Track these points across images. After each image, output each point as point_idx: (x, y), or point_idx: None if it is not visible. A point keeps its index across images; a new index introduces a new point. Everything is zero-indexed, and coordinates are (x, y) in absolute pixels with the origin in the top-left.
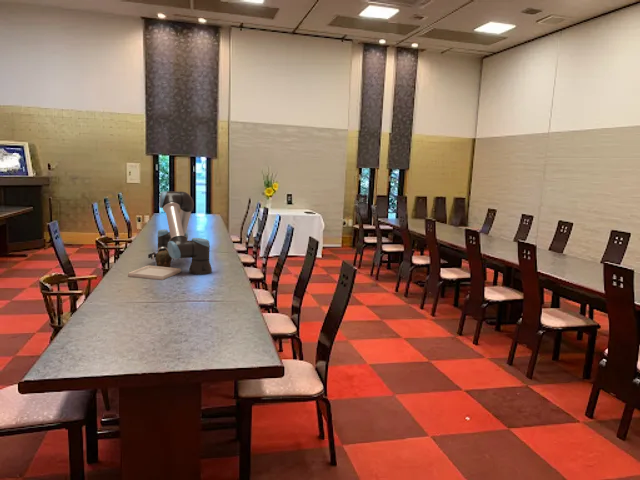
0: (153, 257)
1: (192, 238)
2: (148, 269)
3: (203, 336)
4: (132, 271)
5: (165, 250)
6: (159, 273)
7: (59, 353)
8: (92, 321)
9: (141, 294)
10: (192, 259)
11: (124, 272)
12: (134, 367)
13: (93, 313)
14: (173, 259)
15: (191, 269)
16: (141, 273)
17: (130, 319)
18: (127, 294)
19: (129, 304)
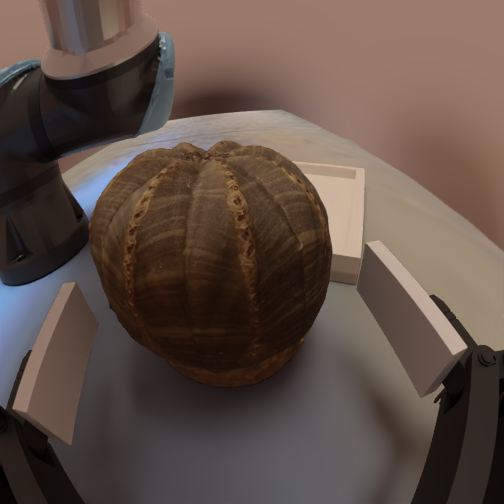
0: (365, 255)
1: (37, 59)
2: None
3: (181, 123)
4: (360, 176)
5: (159, 173)
6: None
7: (280, 112)
8: (285, 119)
9: (255, 137)
10: (58, 169)
11: (425, 218)
12: (229, 113)
13: (295, 122)
14: (89, 321)
15: (80, 213)
16: (324, 189)
17: (247, 121)
18: (282, 136)
19: (262, 128)
